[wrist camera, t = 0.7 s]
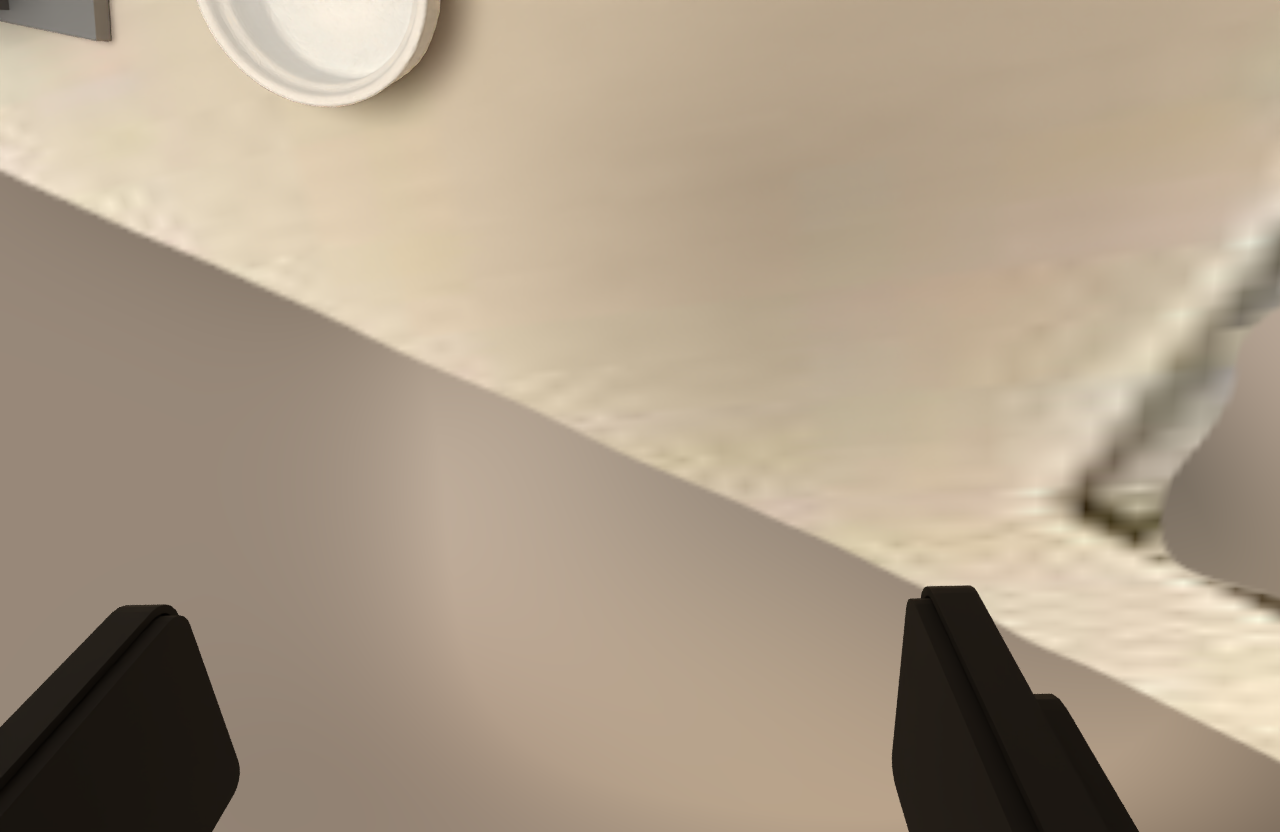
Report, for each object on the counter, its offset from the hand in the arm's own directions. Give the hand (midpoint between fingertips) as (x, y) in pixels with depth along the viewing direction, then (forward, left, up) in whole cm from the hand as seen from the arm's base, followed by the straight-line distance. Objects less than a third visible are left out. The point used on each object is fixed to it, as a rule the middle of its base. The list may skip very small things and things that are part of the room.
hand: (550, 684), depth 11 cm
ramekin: (-7, -14, -30) cm, 34 cm away
